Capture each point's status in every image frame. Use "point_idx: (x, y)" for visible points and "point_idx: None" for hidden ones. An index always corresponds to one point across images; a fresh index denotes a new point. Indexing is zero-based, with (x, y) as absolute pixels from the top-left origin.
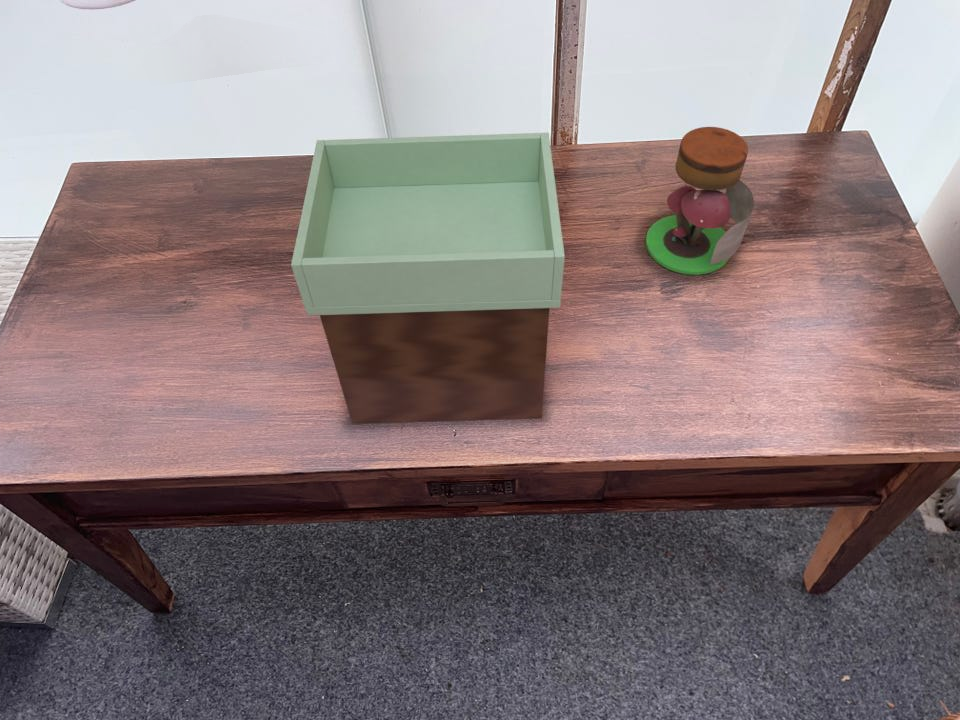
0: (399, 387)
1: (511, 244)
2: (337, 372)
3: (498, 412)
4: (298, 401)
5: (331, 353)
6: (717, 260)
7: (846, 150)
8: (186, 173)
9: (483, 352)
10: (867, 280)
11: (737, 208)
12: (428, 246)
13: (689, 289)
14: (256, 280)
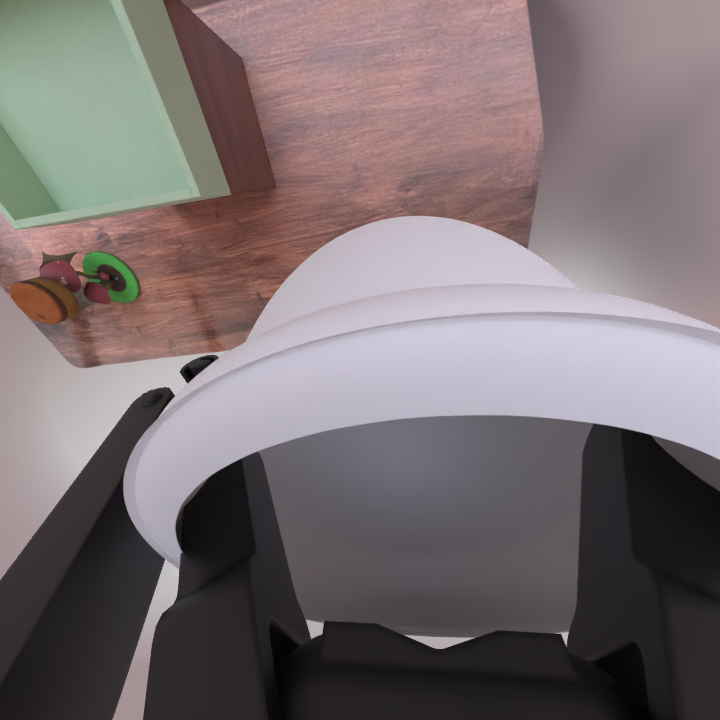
0: None
1: (20, 109)
2: (204, 23)
3: None
4: (290, 80)
5: (187, 7)
6: (73, 254)
7: (76, 359)
8: None
9: None
10: (7, 256)
11: (78, 296)
12: (85, 94)
13: (93, 238)
14: (362, 220)
